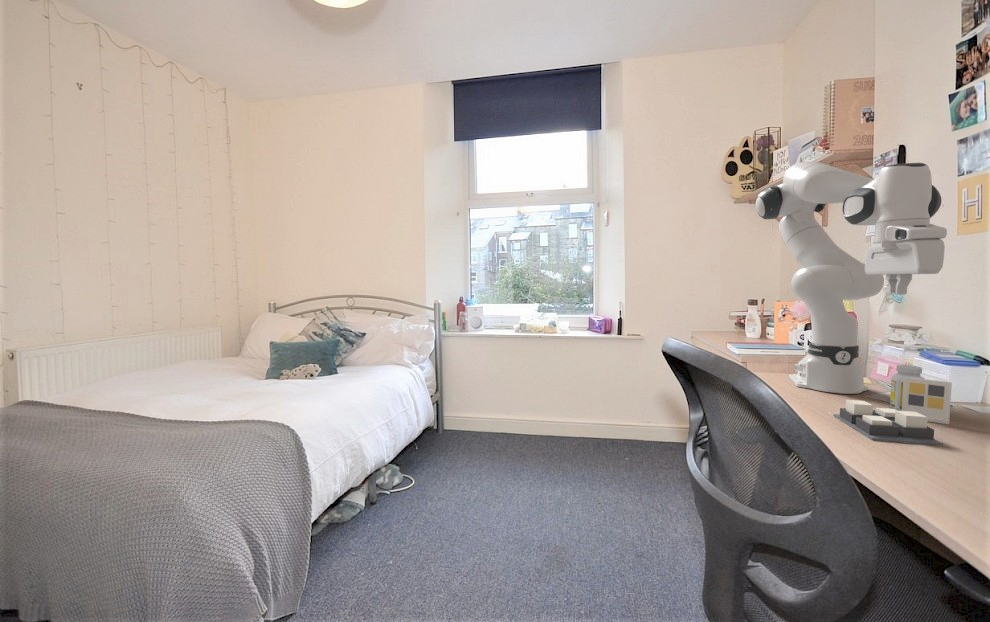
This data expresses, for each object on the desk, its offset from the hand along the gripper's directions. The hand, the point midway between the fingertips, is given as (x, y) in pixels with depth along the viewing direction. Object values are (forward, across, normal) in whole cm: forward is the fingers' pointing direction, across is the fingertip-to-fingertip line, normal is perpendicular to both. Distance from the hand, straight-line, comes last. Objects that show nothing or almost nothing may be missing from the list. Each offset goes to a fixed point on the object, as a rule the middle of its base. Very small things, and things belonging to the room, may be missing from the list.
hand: (897, 294), depth 93 cm
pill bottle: (+31, -14, +11) cm, 36 cm away
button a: (+31, 0, -1) cm, 31 cm away
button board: (+31, +4, -4) cm, 32 cm away
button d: (+31, +7, -7) cm, 32 cm away
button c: (+29, 0, -6) cm, 30 cm away
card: (+31, -6, +10) cm, 33 cm away
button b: (+29, +7, 0) cm, 30 cm away
